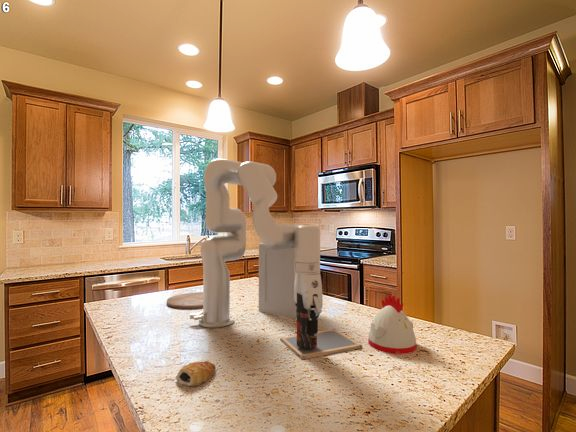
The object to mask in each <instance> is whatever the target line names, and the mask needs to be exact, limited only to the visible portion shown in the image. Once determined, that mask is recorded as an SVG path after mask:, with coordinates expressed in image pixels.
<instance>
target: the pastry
mask: <svg viewBox="0 0 576 432" xmlns="http://www.w3.org/2000/svg"><path fill="white" fill-rule="evenodd" d="M215 372H216V365H215V364H214V363H213V362H211V361H209V360H208V361H207V360H206V361H205V360H204V361H196V362H190V363H188V364H185V365H183V367H182V368H180V369H179V371H178V373H177V374H176V375H175V379H176V381H177V383H179V384H180V385H183V386H189V387H197V386H200V385H202V384H203V383H206V382H207V381H208V380H210V379H211V378H212V377H213V375H215Z"/></svg>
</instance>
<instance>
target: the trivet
mask: <svg viewBox="0 0 576 432" xmlns="http://www.w3.org/2000/svg"><path fill="white" fill-rule="evenodd" d="M166 306H167V307H169V308H172V309H177V310H198V309H201V310H202V309H203V291H202V292H201V291H199V292H197V291H195V292H188V293H187V292H186V293H179V294H177V295H176V294H175V295H173V296H170V297H168V298H167V299H166Z"/></svg>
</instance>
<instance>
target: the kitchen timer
mask: <svg viewBox="0 0 576 432" xmlns="http://www.w3.org/2000/svg"><path fill="white" fill-rule="evenodd" d="M400 300H401V299H400V297H397V298H396V296H395V295H391V294H389V295H388V296H387V297H386V296H385V297H384V299H382V300H381V305H382V308H381V309H379V311H378V312H377V313H376V314H375V316H374V318H373V319H372V322H371V323H370V326H369V327H370V328H369V331H368V345H369V346H370V347H371V348H373V349H374V350H377V351H378V352H382V353H385V354H393V355H397V354H398V355H404V354H411V353H413V352H415V351H416V349H417V339H416V335H415V334H416V333H415V330H414V329H413V328H414V324H413V322H412V320H410V319H409V317H408V316H407V314H406V313H405V312H404V311H403V310H402V309H403V306H404V302H402V303H401V301H400Z"/></svg>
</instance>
